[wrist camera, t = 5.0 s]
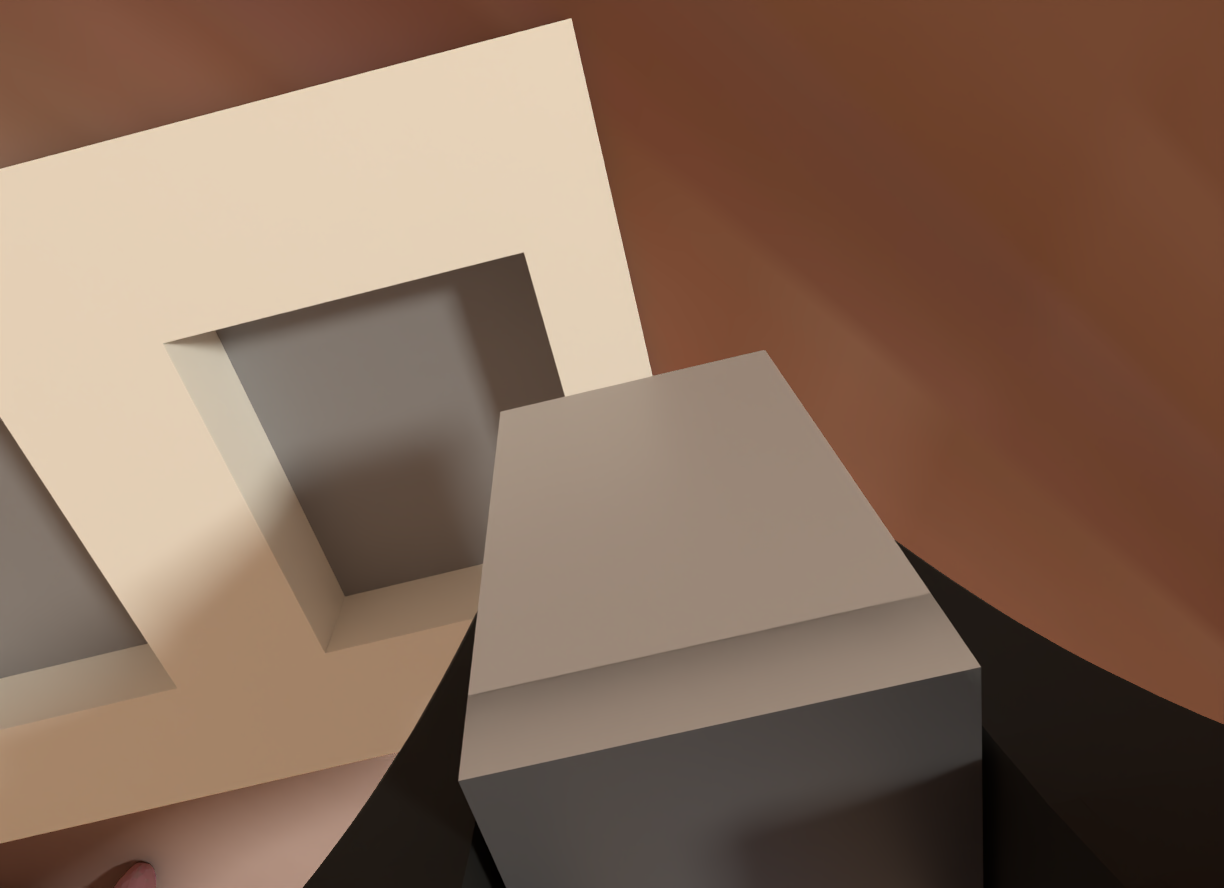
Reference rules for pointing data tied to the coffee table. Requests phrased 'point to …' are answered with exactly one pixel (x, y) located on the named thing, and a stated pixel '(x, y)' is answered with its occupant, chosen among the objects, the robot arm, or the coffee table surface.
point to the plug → (710, 655)
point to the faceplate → (280, 415)
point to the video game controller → (138, 877)
